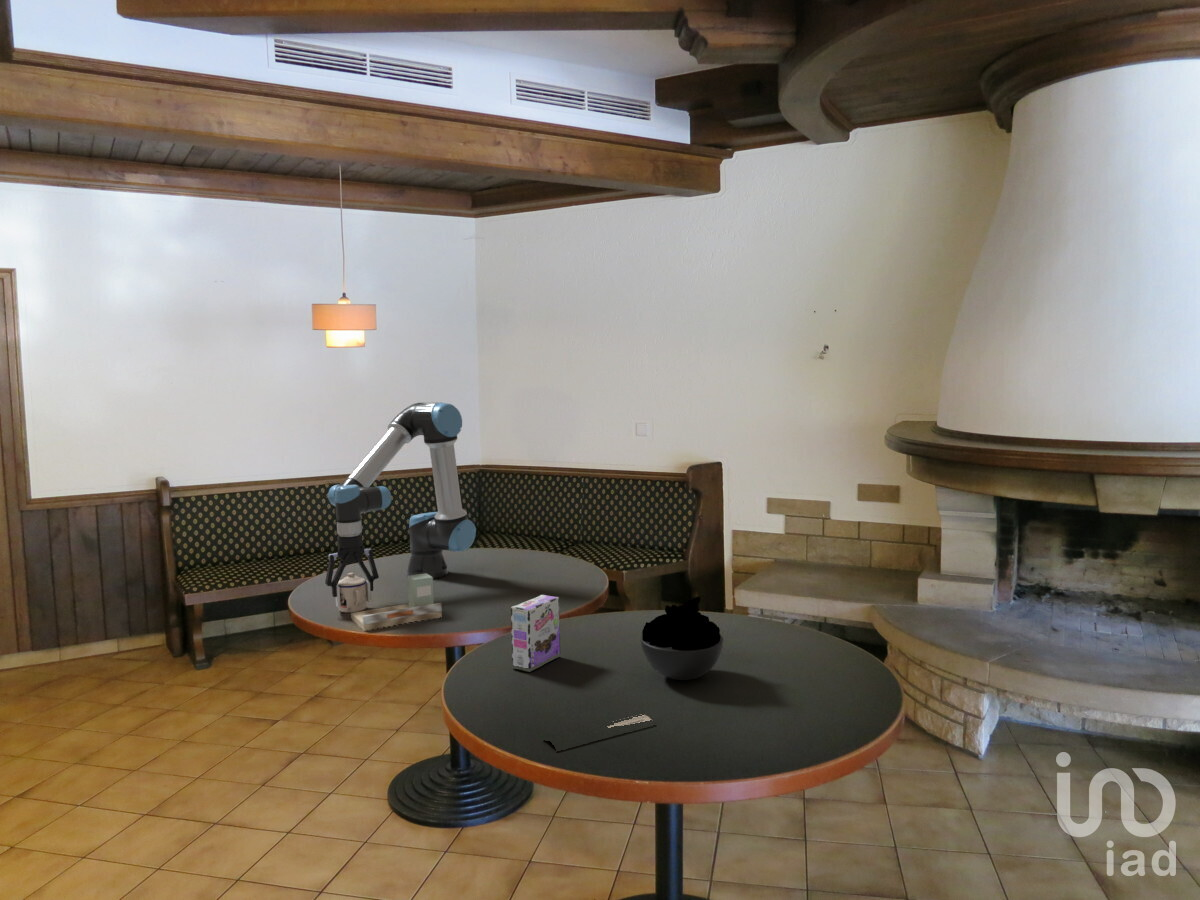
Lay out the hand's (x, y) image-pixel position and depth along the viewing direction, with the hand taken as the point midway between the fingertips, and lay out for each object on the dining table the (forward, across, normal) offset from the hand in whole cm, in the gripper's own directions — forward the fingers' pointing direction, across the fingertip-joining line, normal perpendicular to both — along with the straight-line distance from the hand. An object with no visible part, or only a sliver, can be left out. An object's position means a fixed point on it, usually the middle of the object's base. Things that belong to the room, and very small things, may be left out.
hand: (353, 603), depth 269 cm
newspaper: (+3, -19, +120) cm, 122 cm away
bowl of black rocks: (+3, -52, +105) cm, 117 cm away
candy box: (+2, -27, +76) cm, 81 cm away
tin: (0, -17, +16) cm, 23 cm away
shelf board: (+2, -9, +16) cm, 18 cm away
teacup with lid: (+2, 0, 0) cm, 2 cm away
